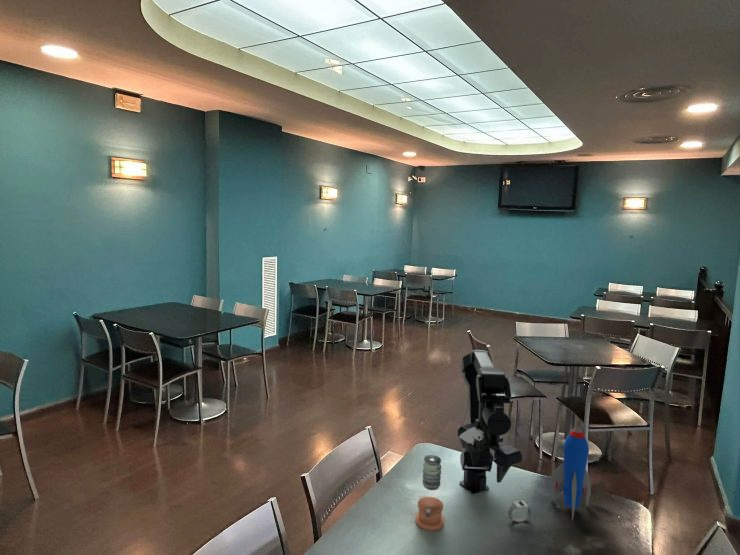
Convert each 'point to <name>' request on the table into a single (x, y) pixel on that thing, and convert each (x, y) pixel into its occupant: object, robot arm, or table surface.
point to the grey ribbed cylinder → (431, 472)
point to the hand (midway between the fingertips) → (486, 473)
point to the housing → (430, 514)
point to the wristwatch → (519, 506)
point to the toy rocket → (573, 470)
